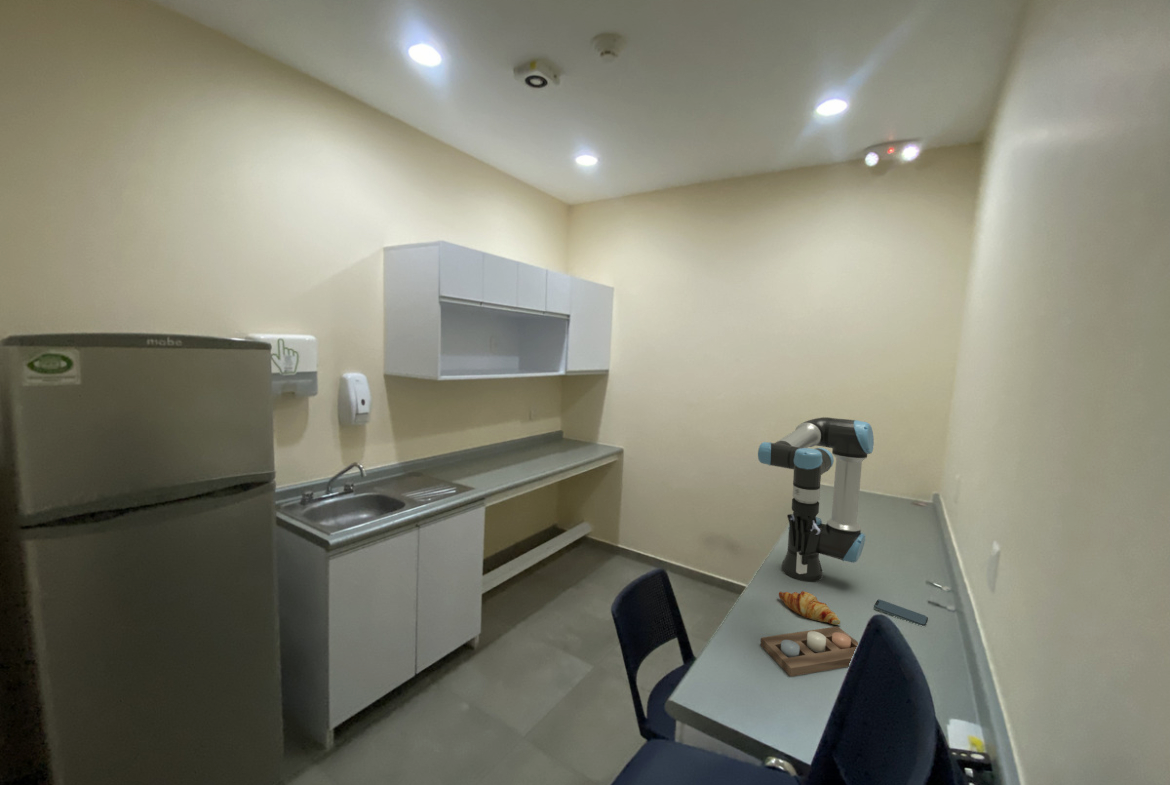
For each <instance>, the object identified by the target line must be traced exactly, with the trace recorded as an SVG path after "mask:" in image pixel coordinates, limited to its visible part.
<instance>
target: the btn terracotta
mask: <svg viewBox="0 0 1170 785" xmlns="http://www.w3.org/2000/svg"><path fill="white" fill-rule="evenodd" d="M849 636H850V635H849ZM849 636H847V635H846V634H843V633H839V632H835V633H833V634H832V643H833V644H835V645H836V646H837V647H838V648H839V649H846V648H850V646H851V638H850V637H849Z"/></svg>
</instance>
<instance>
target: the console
mask: <svg viewBox="0 0 1170 785" xmlns="http://www.w3.org/2000/svg"><path fill="white" fill-rule="evenodd" d="M810 631H815V632H819V633H821V634H823V635H824V636H825V637H826V646H825V652H821V653H817V652H814V651H812V650H810V649H809V648H808V647H807V634H808V632H810ZM835 632H839V633H843V634H846V635H847V636H849V637H850V638H851V646H850V648H846V649H839V648H838V647H837V646H836V645H835V644H833V643H832V634H833V633H835ZM783 640H791V641H794V642H796V643H797V644H798V645H799V647H800V649H799V656H796V657H790V658H788V657H787V656H785V655H784V654H783V653H782V652H781V642H782V641H783ZM857 645H858V641H857V640H856V639H854V637H852V636H851V635H849V634H848V633H847V632H845V631H844V629H842V628H840V626H837V625H835V626H832V627H831V626H829V627H823V628H817V629H810V630H803V631H797V632H791V633H790V632H789V633H782V634H777V635H770V636H763V637H762V636H761V637H760V647H761V648H762V649H764V651H766V652H767V654H768V655H769V657H771V658H772V659H773V660H774V661H775V662H776V663H777V664H778V665H779V666H780V668H781V669H783V670H784V671H785V673H786V674H787V675H788V676H789V677H790V678H791V677H796V676H802V675H808V674H813V673H819V672H825V671H830V670H831V671H832V670H836V669H842V668H843V669H844V668H849V667H850V666H849V663H850V661H851V658H852V656H853V654H854V651H855V649H856V647H857ZM848 666H849V667H848Z"/></svg>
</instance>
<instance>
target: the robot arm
mask: <svg viewBox="0 0 1170 785" xmlns="http://www.w3.org/2000/svg"><path fill="white" fill-rule="evenodd" d="M874 440H875V439H874V432H873V428H872V425H871V424H870V423H869V422H866V421H862V420H856V419H846V418H845V419H844V418H835V417H826V416H825V417H824V416H823V417H816V418H812V419H808V420H806V421H804V422H802V423H800V424H798V425H797V426H796V427H795V429H794V430H793V431H792V432H791V433H789V434H787V435H785V436H784V437H782V438H780V439H779V440H777V441H776V442H768V441H767V442H766V441H764V442H761V443H760V445H759V446H758V451H757V459H758V461H759V463H761V464H763V465H768V466H772V467H777V468H783V469H789V470H793V476H792V478H793V481H792V494H791V496H792V499H791V510H792V514H791V513H789V514H787V517H786V518H787V521H788V523H789V524H788V525H789V526H788V537H787V538H788V539H787V551H786V554H785V556H784V559H783V561H782V562H781V571H782V572H783V573H784V574H785V575H787V576H789V577H790V578H792V579H795V580H799V581H804V582H817V581H820V580H823V579H822V578H823V574H824V573H823V567H822V564H821V561H820V555H824V556H826V557H830V558H834V559H837V560H841V561H842V562H848V563H853V564H855V563H856V562H858V561H859V559H860V557H861V555H862V553H863V550H864V547H865V542H866V535H865V533H863V532H862V531H861V530H862V527H861V526H860V525H859V524H858V522H857V521H858V512H859V500H860V487H861V477H862V468H863V467H862V465H863V462H864V461H865V460H866V459H867V458H868V455H869V454H870V455H871V454H872V453H873V450H874V446H875V444H874V443H875V442H874ZM815 446H816V448H812V447H815ZM826 448H830V449H832V451H830V450H828V449H826ZM834 457H835V461H834ZM834 462H835V470H834V479H833V480H834V482H833V494H832V507H831V518H829V519H828V520H827V521H826V524H825V523H823V521H822V519H821V518H820V517H818V515H819V514H820V513H819V512H820V502H819V501H820V500H821V499H820V498H821V479H822V475H823V474H825V473H827V472H829V471H830V469H831V468H832V467H833V465H834Z"/></svg>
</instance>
